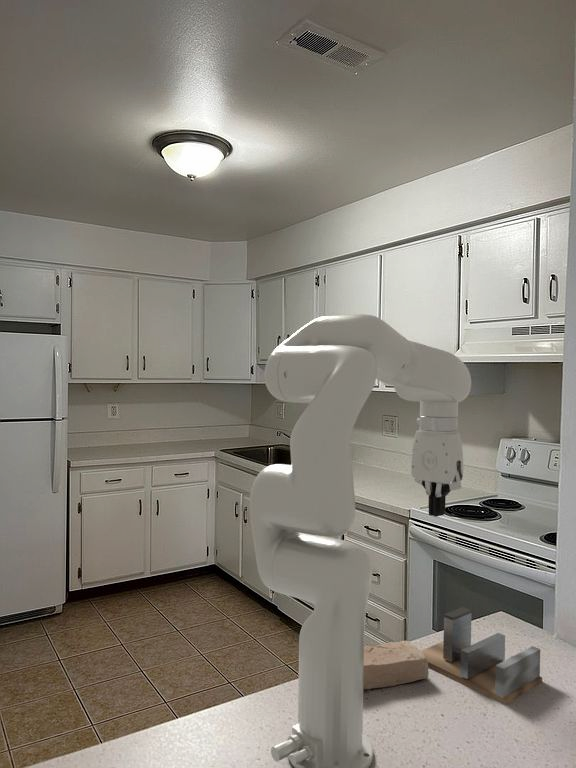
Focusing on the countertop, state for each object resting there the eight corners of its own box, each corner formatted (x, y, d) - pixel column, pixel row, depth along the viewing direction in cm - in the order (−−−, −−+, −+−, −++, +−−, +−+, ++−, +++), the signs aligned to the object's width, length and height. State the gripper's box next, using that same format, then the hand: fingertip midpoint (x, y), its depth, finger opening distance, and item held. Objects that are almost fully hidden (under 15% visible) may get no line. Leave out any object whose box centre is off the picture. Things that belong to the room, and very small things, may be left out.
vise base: (505, 705, 101) (506, 669, 101) (412, 659, 116) (413, 629, 116) (542, 682, 108) (542, 650, 108) (450, 642, 124) (450, 614, 124)
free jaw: (467, 679, 107) (468, 632, 106) (433, 662, 113) (434, 618, 112) (504, 659, 114) (505, 615, 114) (470, 645, 120) (471, 603, 120)
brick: (408, 660, 116) (408, 635, 116) (430, 680, 108) (430, 654, 108) (328, 672, 111) (328, 647, 111) (346, 695, 103) (346, 668, 103)
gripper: (398, 423, 125) (396, 510, 125) (458, 429, 113) (456, 525, 114) (421, 421, 130) (419, 505, 130) (481, 427, 118) (479, 519, 118)
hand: (436, 514), depth 122 cm, fingers closed
